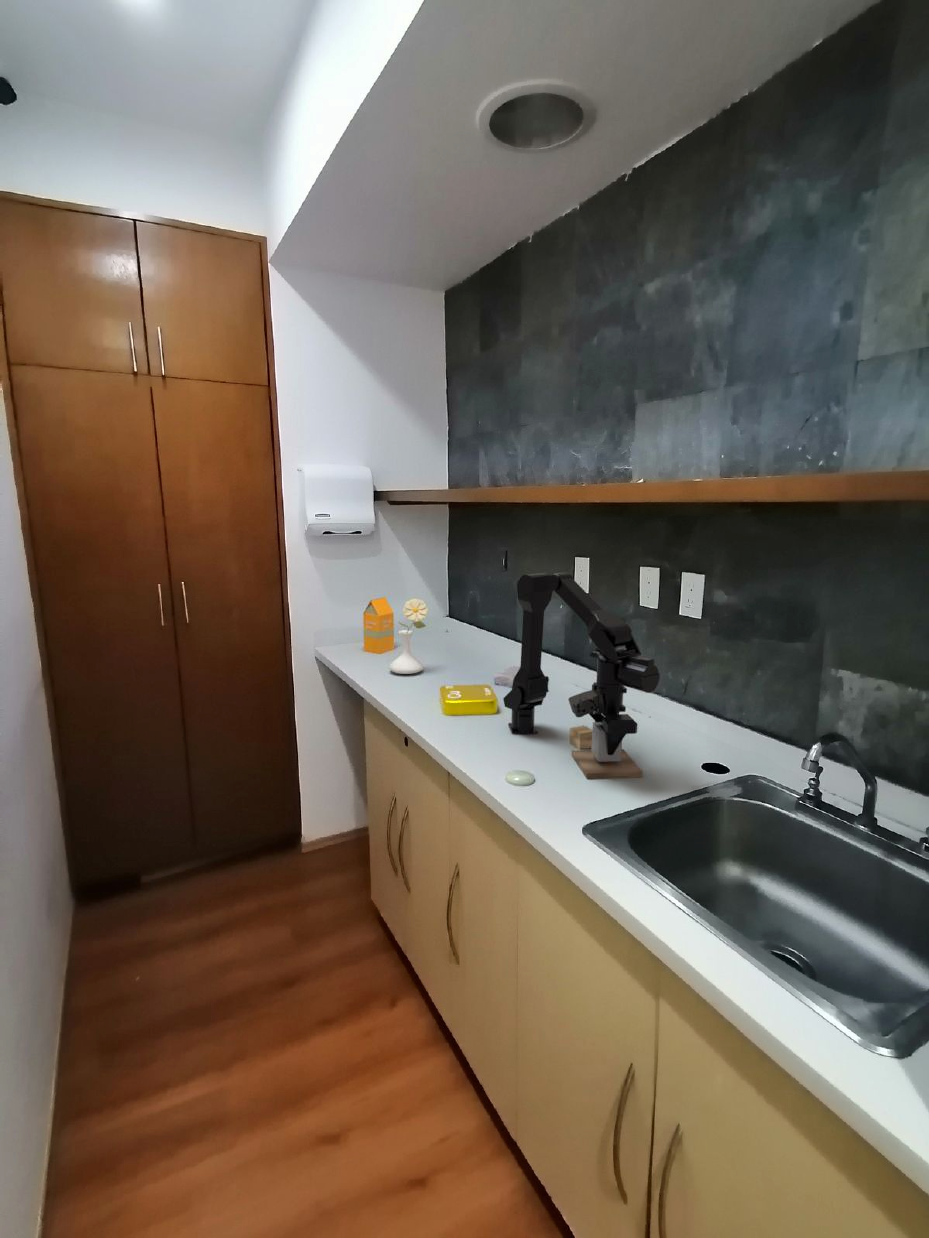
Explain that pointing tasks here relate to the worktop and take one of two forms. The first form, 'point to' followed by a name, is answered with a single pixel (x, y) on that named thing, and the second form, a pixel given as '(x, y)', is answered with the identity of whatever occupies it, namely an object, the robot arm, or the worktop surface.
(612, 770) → the walnut board
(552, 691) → the worktop surface
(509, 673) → the stone block
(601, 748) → the slate block
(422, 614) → the flower in vase
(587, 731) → the oak cube
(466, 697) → the element tile
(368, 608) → the orange juice
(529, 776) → the pale green rounded piece
